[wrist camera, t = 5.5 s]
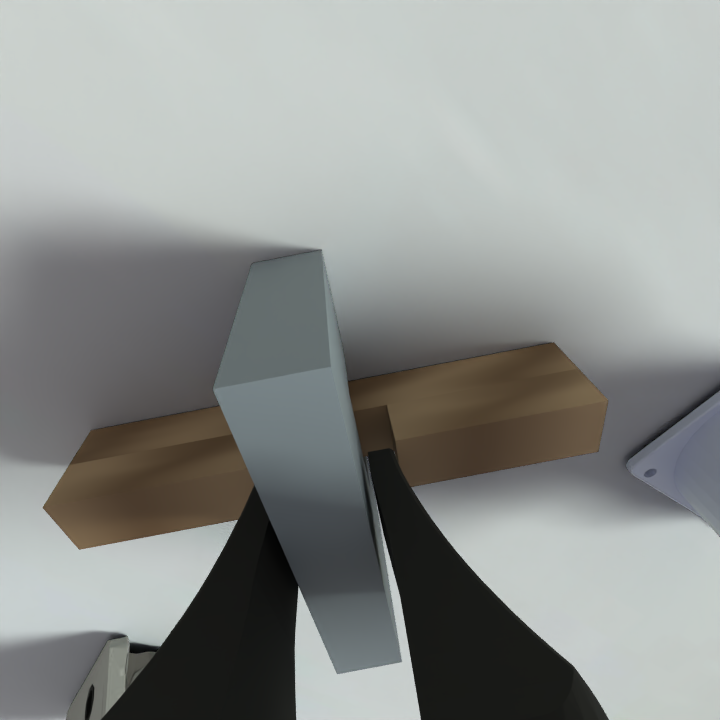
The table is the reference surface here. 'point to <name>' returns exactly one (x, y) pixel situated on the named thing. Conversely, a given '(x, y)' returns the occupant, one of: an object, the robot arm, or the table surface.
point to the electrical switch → (107, 680)
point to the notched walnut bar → (376, 431)
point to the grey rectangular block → (309, 454)
